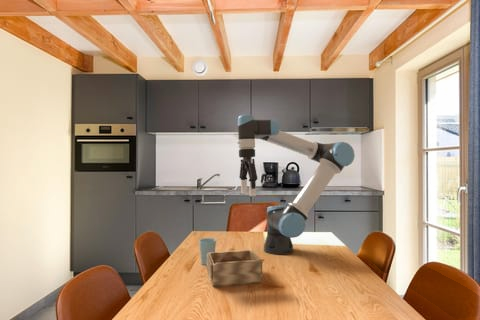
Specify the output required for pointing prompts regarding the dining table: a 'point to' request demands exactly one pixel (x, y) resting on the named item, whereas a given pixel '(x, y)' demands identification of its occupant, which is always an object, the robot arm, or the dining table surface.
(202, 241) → the cup
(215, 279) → the carton
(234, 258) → the potato
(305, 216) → the robot arm
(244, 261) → the flap
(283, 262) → the dining table surface
